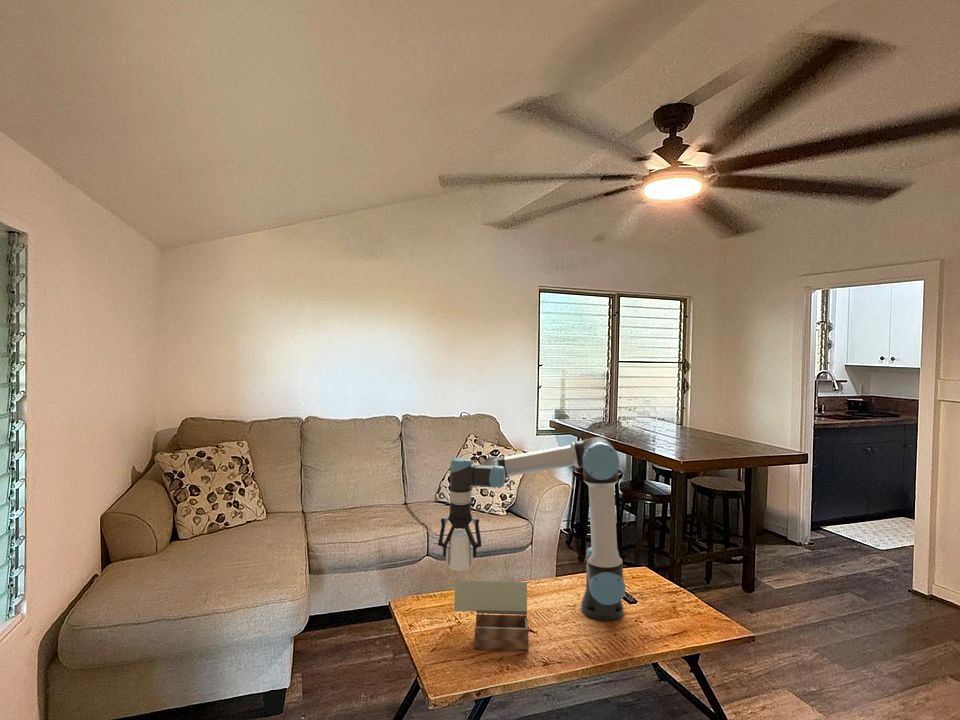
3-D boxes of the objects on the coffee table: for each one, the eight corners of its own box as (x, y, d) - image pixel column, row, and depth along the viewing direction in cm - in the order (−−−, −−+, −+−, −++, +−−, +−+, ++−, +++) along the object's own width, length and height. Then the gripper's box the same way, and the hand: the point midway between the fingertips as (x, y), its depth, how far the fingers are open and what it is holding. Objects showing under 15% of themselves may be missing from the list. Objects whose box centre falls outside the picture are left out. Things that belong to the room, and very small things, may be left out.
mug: (475, 573, 184) (475, 539, 184) (450, 575, 182) (451, 540, 182) (469, 560, 195) (470, 528, 195) (446, 562, 194) (447, 529, 194)
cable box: (527, 636, 176) (527, 615, 176) (528, 651, 168) (528, 629, 167) (476, 634, 177) (476, 614, 177) (474, 649, 168) (474, 627, 168)
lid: (527, 614, 176) (526, 614, 179) (526, 582, 180) (526, 581, 182) (453, 612, 178) (454, 611, 180) (455, 580, 181) (455, 579, 183)
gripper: (489, 499, 192) (489, 562, 192) (432, 498, 193) (431, 560, 193) (489, 505, 185) (488, 570, 185) (429, 504, 185) (429, 568, 186)
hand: (459, 565), depth 189 cm, fingers closed on mug, 8 cm apart
